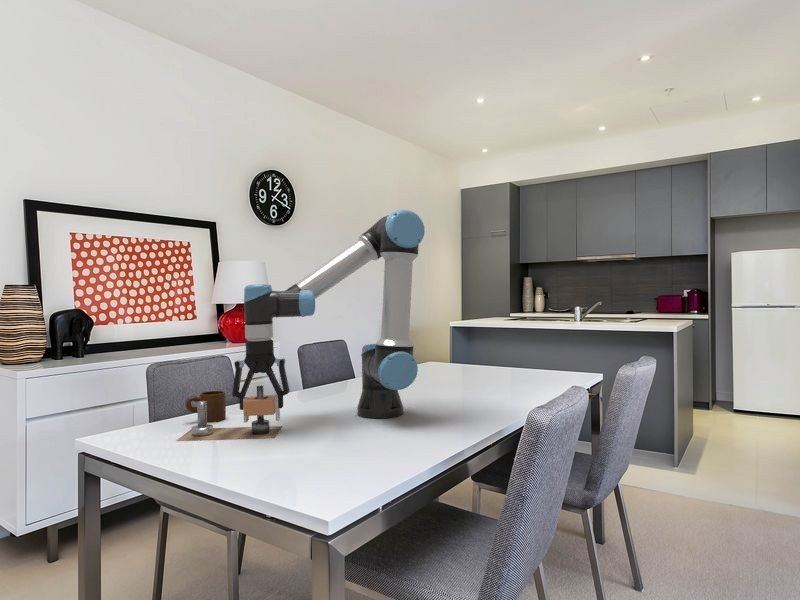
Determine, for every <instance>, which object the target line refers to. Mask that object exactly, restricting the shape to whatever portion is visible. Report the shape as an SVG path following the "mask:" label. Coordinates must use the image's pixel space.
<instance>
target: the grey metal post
mask: <svg viewBox="0 0 800 600" xmlns="http://www.w3.org/2000/svg"><path fill="white" fill-rule="evenodd" d="M196 403H197V404H196V405H197V406H196V407H197V411H198V413H197V425H194V426H192V427H191V429H192V436H194V437H203V436H209V435H212V434H213V428H214V425H212V424H209V423H207V401H199V402H196Z"/></svg>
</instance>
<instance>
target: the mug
mask: <svg viewBox="0 0 800 600" xmlns="http://www.w3.org/2000/svg"><path fill="white" fill-rule="evenodd" d="M226 399H227V398H226V392H225V391H223V390H209V391H203V392H200V393H199V396H198V395H192V396H189V397H188V398H187V399H186V401H185V404H184V405H185V408H186V410H187V411H188V412H190V413H194V414H195V413H197V414H198V411H197V406H193V405H192V402H196V403H197V402H199V401H207V424H209V423H210V424H211V423H218V422H223V421H225V420H226V419H227V418H226V417H227V414H226V412H227V411H226V408H227V407H226Z"/></svg>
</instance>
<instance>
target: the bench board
mask: <svg viewBox="0 0 800 600" xmlns="http://www.w3.org/2000/svg"><path fill="white" fill-rule="evenodd" d="M269 426H270V432H269V433H267V434H262V435H255V434H252V426H243V427H242V426H241V427H240V426H237V427H236V426H235V427H213V434H212V435H209V436H203V437H194V436H192V428H191V429H190V430H188V431H187V432H185V433H184V434H183V435H182V436H180V437H179V438H177V439H176V440H175V442H194V441H197V442H198V441H227V440H228V441H229V440H231V441H232V440H234V441H235V440H259V439H260V440H261V439H262V440H263V439H264V440H267V439H269V440H270V439H275V438H276V437H277V435H278V434H279V433H280V431H281V430H282V428H283V425H279V426H277V425H276V426H274V425H273V426H271V425H269Z"/></svg>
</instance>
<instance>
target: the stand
mask: <svg viewBox="0 0 800 600" xmlns="http://www.w3.org/2000/svg"><path fill="white" fill-rule="evenodd" d="M264 395H265V394H264V385H256V396H257V399H264ZM256 418H257V419H256V420H253V421H251V427H252V434H255V435H262V434H267V433H269V432H270V426H271V425H270V420H269V419H265V415H259V416H256Z"/></svg>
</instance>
